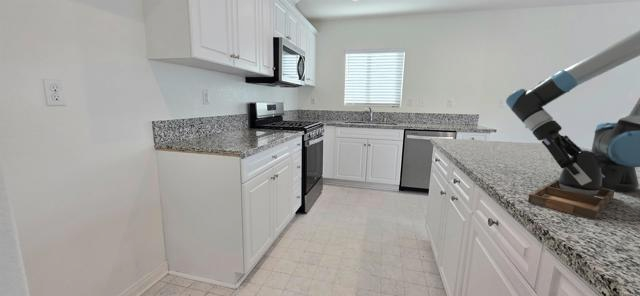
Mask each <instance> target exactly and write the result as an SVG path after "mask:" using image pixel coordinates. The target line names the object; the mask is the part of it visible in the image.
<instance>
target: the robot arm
mask: <svg viewBox="0 0 640 296" xmlns="http://www.w3.org/2000/svg"><path fill="white" fill-rule="evenodd" d="M637 57H640V29H639V30H637V31H636V32H633V33H631V34H629V35H628V36H626V37H624V38H622V39H621V40H618V41H616V42H614V43H613V44H612V43H611V45H609V46H607V47H605V48H603V49H601V50H599V51H598V52H596V53H593V54H591V55H590V56H588V57H586V58H584V59H582V60H580V61H578V62H577V63H575V64H573V65H571V66H569V67H567V68H566V69H561V70H559V71H557V72H555V73H553V74H552V75H550V76H549V77H548V78H546V79H544V80H542V81H540V82H539V83H538V84H537V85H536V86H534V87H533V88H531V89H529V90H527V89H525V88H520V89H517V90H515V91H513V92H512V93H511V94H509V95H508V97H506V100H505V103H506V105H507V107H509V109H510V110H511V111H512V113H513V114H515V115H516V116H517V118H518V119H519V120H520V121H521V122H522V123H523V124H524V125H525V126H524V128H526V129H528V130H529V131H530V132H532V135H533V136H534V137H535V138H536V140H537V141H541V144H542V145H544V147H545V148H546V149H547V151H548V152H549V153H550V155H551V156H552V157H553V159H554V160H555V162H556V163H557V165H558V166H559V167H560V168H561V169H562V170H563V168H565V167H566V169H567V170H568V171H569V172H570V173H571V174H572V175H573V176H574V178H575V179H576V180H577V181H578V182H579V183H580V184H581V185H584V184H586V183H588V182H591V181H592V180H591V179H590V178H589V177H588V176H587V175H586V174H585V173H584V172H583V171H582V169H581V168H580V167H579V166H578V165H577V164H576V163H574V164H573V162H572V160H571V156H572V155H574V154H575V153H576V152H578V151H583V150H582V149H581V148H580V146H578V145H577V144H576V143H574V141H573V140H571V139H570V137H569V136H567V135H561V133H559V132H560V131H561V130H562V126H561V125H560V124H559V122H557V120H554V118H553V116H551V114H549V112H547V110H546V109H544V107H545V106H546V105H548V104H549V103H552V102H553V101H555V100H557V99H558V98H561V96H564V95H565V94H567V93H569V92H570V91H571V90H573V89H576V87H578V86H580V85H582V84H584V83H585V82H588V81H591V80H592V79H594V78H596V77H599V76H600V75H602V74H604V73H606V72H608V71H611V70H612V69H615V68H616V67H619V66H621V65H624V64H625V63H627V62H629V61H632V60H633V59H635V58H637ZM590 152H592V153H594V154H595V155H599V154H605V157H603V158H600V159H598V161H599V163H600V167H601V172H602V188H605V189H610V190H615V191H616V192H617V191H619V192H637V191H638V190H639V185H640V183H639V180H638V176H637V171H636V168H640V97H639V99H637V101H636V104H635V105H634V107H633V108H632V110H631V111H630V113H629V114H628V115H626V116H624V117H621V118H619V119H618V121H617V122H601V123H598V124H597V125H596V127H595V130H594V137H593V142H592V146H591V150H590Z"/></svg>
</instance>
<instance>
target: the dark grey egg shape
mask: <svg viewBox="0 0 640 296" xmlns="http://www.w3.org/2000/svg"><path fill="white" fill-rule="evenodd" d="M603 157H605V154H599V155H595V154H594V153H592V152H591V150H584V149H583V150H582V151H578V152H576V153H575V154H574V155H572V156H570V158H571V160H572V162H573V164H574V163H576V164H577V165H578V166H579V167H580V168H581V169H582V171H583V172H584V173H585V174H586V175H587V176H588V177H589V178H590V179H591V180H592V181H591V182H588V183H586V184H584V185H581V184H580V183H579V182H578V181H577V180H576V179H575V178H574V176H573V175H572V174H571V173H570V172H569V171H568V170H567V169H566V167H565V168H563V169H562V170H561V172H560V174H559V178H558V180H559V183H560V187H559V189H561V190H566V191H571V192H575V193H580V194H584V195H589V196H594V197H596V196H597V195H596V194H597V193H598V192H599V190H601V188H602V172H601V167H600V163H599V161H598V159H600V158H603Z"/></svg>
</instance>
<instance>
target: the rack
mask: <svg viewBox="0 0 640 296" xmlns="http://www.w3.org/2000/svg"><path fill="white" fill-rule="evenodd" d="M615 191H616V190H610V189H605V188H601V190H599V192H598V193H597V194H596V195H595V196H589V195H584V194H580V193H575V192H571V191H566V190H561V188H560V183H559V178H558V179H557V178H556V179H554V180H552V181H551V182H549V183H547V184H546V185H545V184H544V186H542V187H539V188H538V189H536V190H534V191H533V192H531V193H529V195H528V198H527V199H528V200H527V203H530V204H532V205H533V204H534V205H537V206H541V207H546V208H548V209H552V210H556V211H561V212H565V213H568V214H570V215H574V216H575V215H576V216H579V217H582V218H587V219H591V220H594V221H595V220H596V219H597V218H598V217H599V216H600V214H601V213H602V212H603V211H604V209H605V208H606V207H607V206H608V205H609V203H611V201H612V200H613V199H614V196H615ZM597 196H599V197H597ZM601 197H602V198H601Z"/></svg>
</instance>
